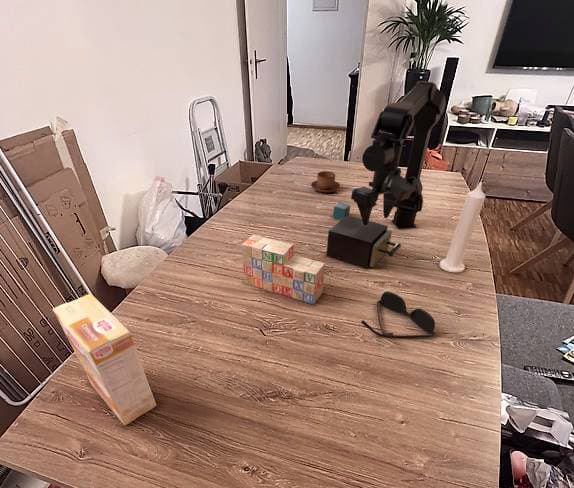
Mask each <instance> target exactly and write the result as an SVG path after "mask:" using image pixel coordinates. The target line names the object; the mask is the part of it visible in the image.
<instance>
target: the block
mask: <svg viewBox="0 0 574 488" xmlns="http://www.w3.org/2000/svg"><path fill="white" fill-rule="evenodd" d="M350 213H351V205H350V204H348V203H344V202H338V203H336V204H335V205H334V207H333V214H332V218H333V219H336V220H339V221H341V220H342V219H343V218H345V217H346V216H347V215H348V216H350Z"/></svg>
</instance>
